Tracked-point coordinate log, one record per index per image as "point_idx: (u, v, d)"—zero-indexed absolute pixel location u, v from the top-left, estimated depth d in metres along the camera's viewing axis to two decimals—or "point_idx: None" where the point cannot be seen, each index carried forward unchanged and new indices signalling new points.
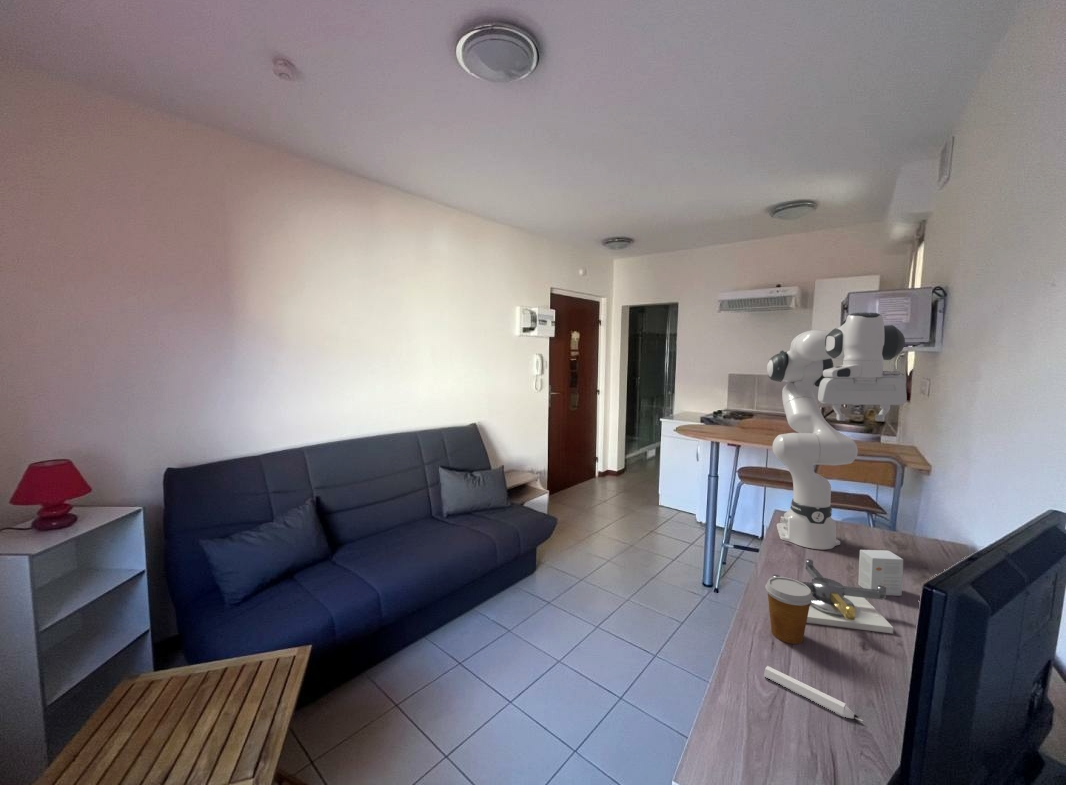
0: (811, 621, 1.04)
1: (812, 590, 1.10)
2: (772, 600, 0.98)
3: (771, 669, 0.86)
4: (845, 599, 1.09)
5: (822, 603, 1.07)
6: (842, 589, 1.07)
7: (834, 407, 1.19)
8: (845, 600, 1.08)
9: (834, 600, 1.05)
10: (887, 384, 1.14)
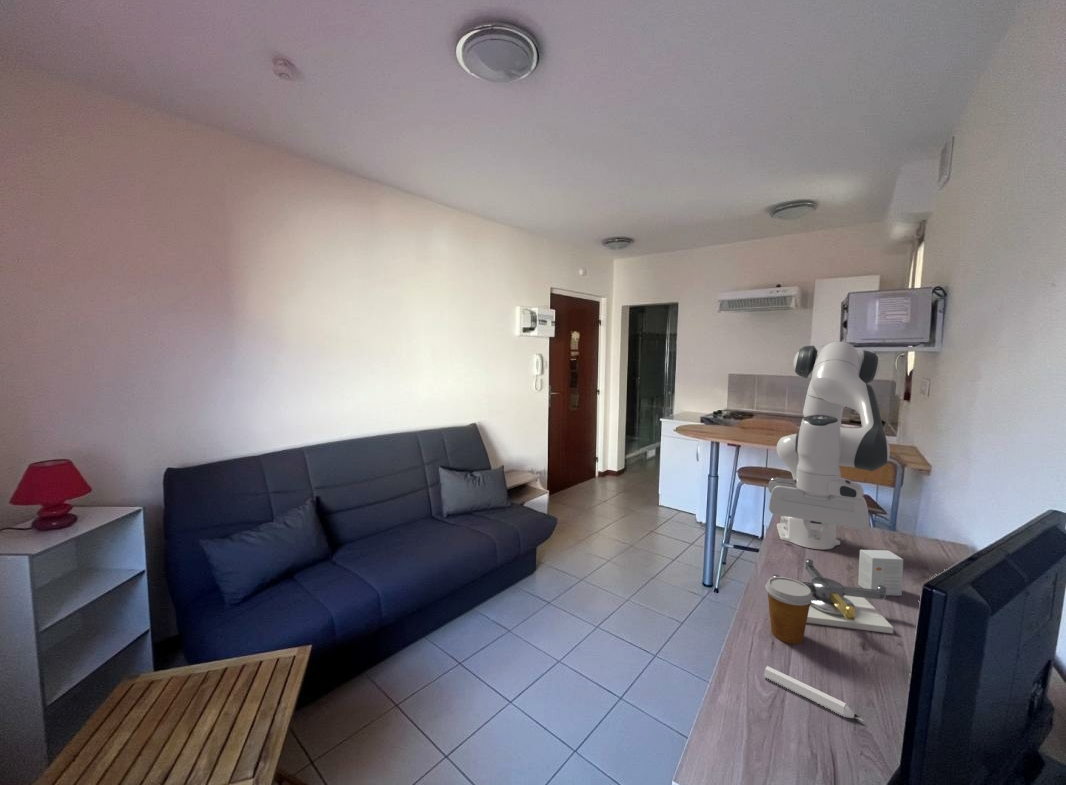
0: (811, 621, 1.04)
1: (812, 590, 1.10)
2: (772, 600, 0.98)
3: (771, 669, 0.86)
4: (845, 599, 1.09)
5: (822, 603, 1.07)
6: (842, 589, 1.07)
7: None
8: (845, 600, 1.08)
9: (834, 600, 1.05)
10: None
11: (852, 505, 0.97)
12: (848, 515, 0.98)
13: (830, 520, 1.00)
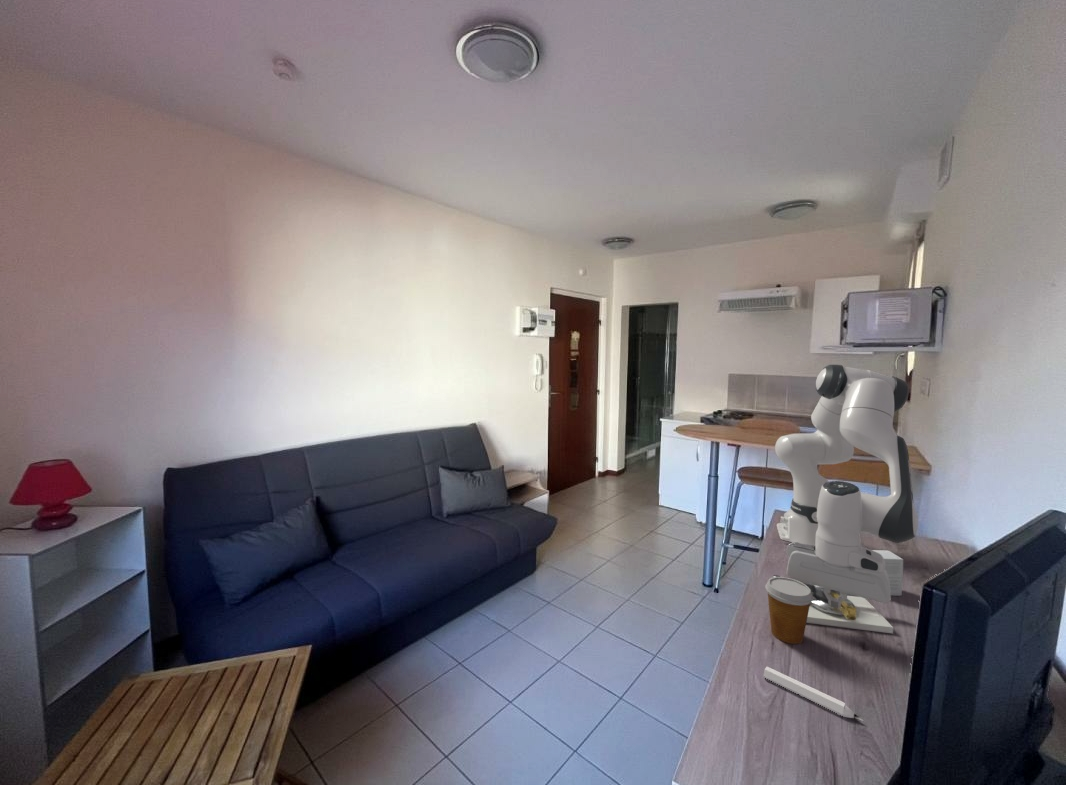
0: (811, 621, 1.04)
1: (812, 590, 1.10)
2: (772, 600, 0.98)
3: (770, 669, 0.86)
4: (845, 599, 1.09)
5: (822, 603, 1.07)
6: None
7: (846, 594, 1.00)
8: (845, 600, 1.09)
9: None
10: None
11: (874, 578, 0.96)
12: (869, 587, 0.96)
13: (850, 591, 0.98)
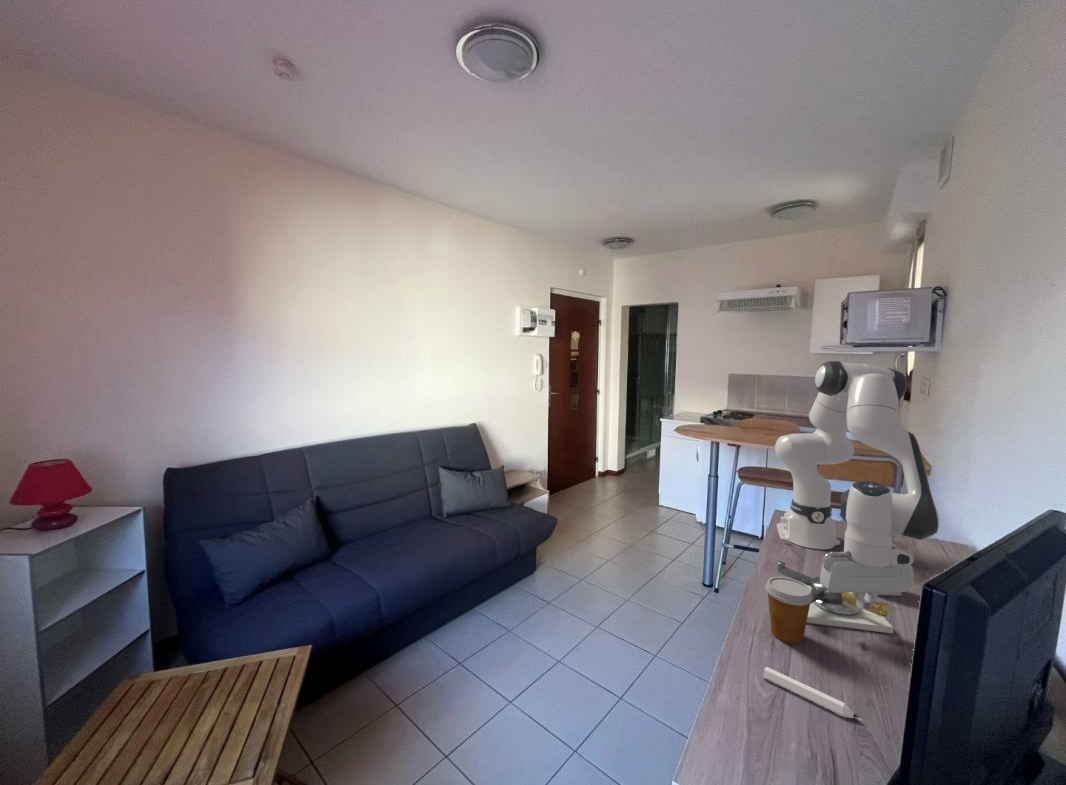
0: (811, 621, 1.04)
1: (822, 596, 1.08)
2: (772, 600, 0.98)
3: (770, 670, 0.85)
4: None
5: (838, 606, 1.06)
6: None
7: None
8: None
9: (851, 600, 1.05)
10: None
11: (900, 570, 0.99)
12: (897, 580, 0.99)
13: (883, 588, 0.99)
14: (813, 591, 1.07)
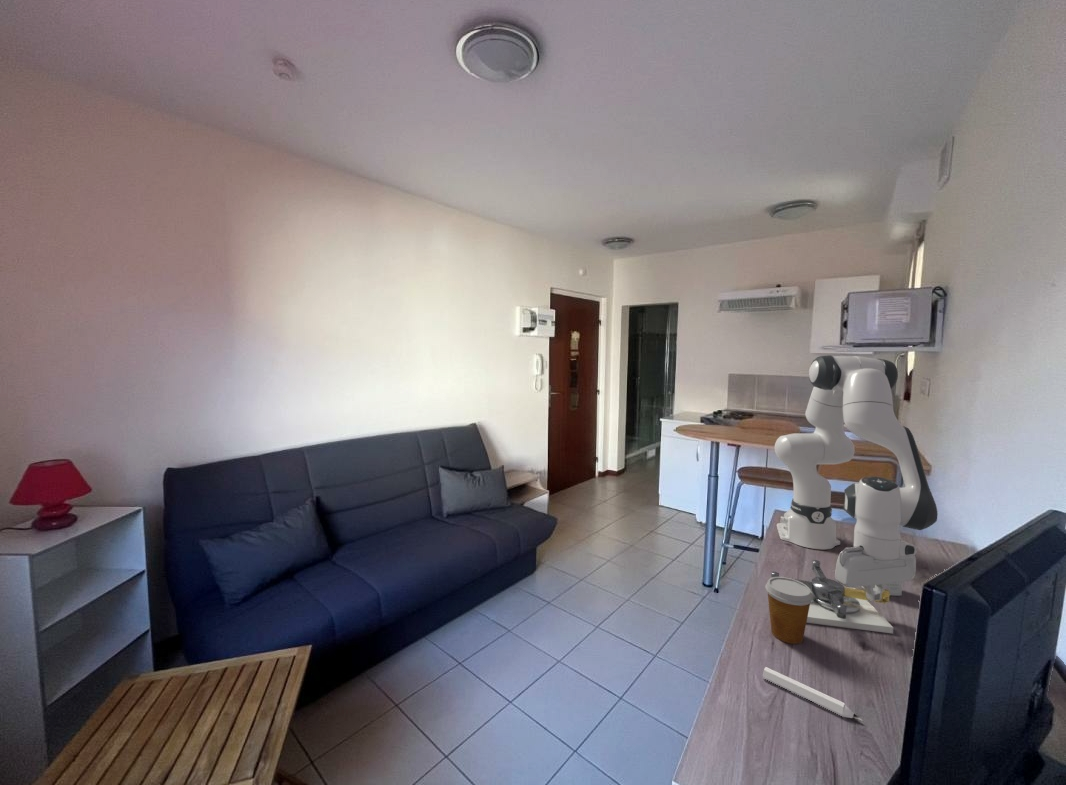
0: (811, 621, 1.04)
1: None
2: (772, 600, 0.98)
3: (770, 670, 0.85)
4: None
5: (847, 604, 1.06)
6: (834, 581, 1.12)
7: None
8: None
9: (855, 594, 1.07)
10: None
11: (905, 560, 1.04)
12: (902, 570, 1.04)
13: (891, 579, 1.03)
14: (833, 597, 1.04)
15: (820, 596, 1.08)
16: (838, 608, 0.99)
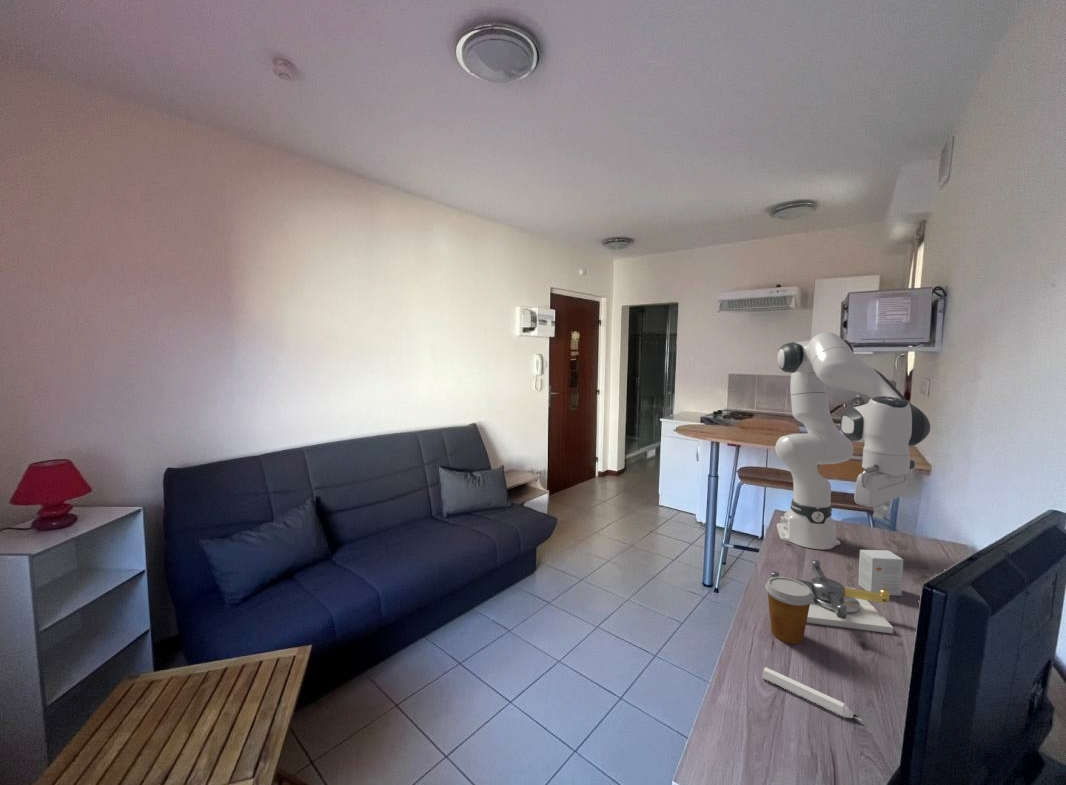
0: (811, 621, 1.04)
1: None
2: (772, 600, 0.98)
3: (769, 670, 0.85)
4: None
5: (847, 604, 1.06)
6: (834, 581, 1.12)
7: None
8: None
9: (855, 594, 1.07)
10: None
11: (904, 476, 1.07)
12: (903, 485, 1.06)
13: (896, 495, 1.05)
14: (833, 597, 1.04)
15: (820, 596, 1.08)
16: (838, 608, 0.99)
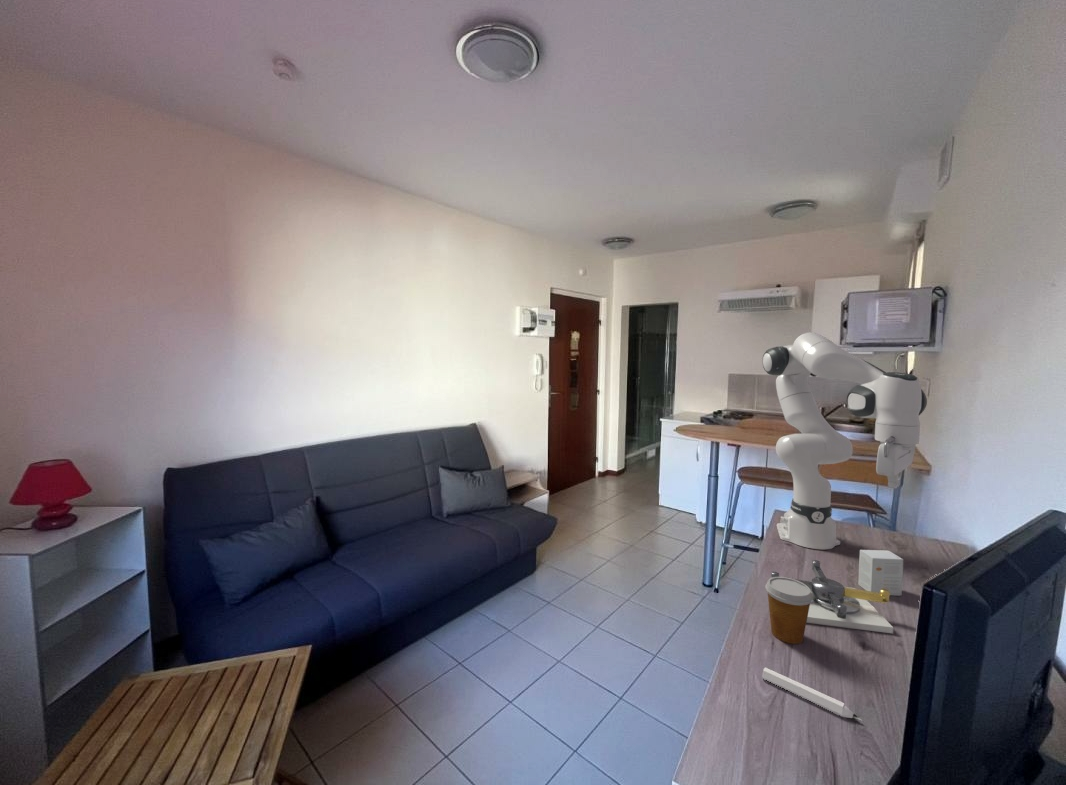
0: (811, 621, 1.04)
1: None
2: (772, 600, 0.98)
3: (769, 670, 0.85)
4: None
5: (847, 604, 1.06)
6: (834, 581, 1.12)
7: None
8: None
9: (855, 594, 1.07)
10: None
11: None
12: (909, 456, 1.13)
13: (906, 465, 1.11)
14: (833, 597, 1.04)
15: (820, 596, 1.08)
16: (838, 608, 0.99)
